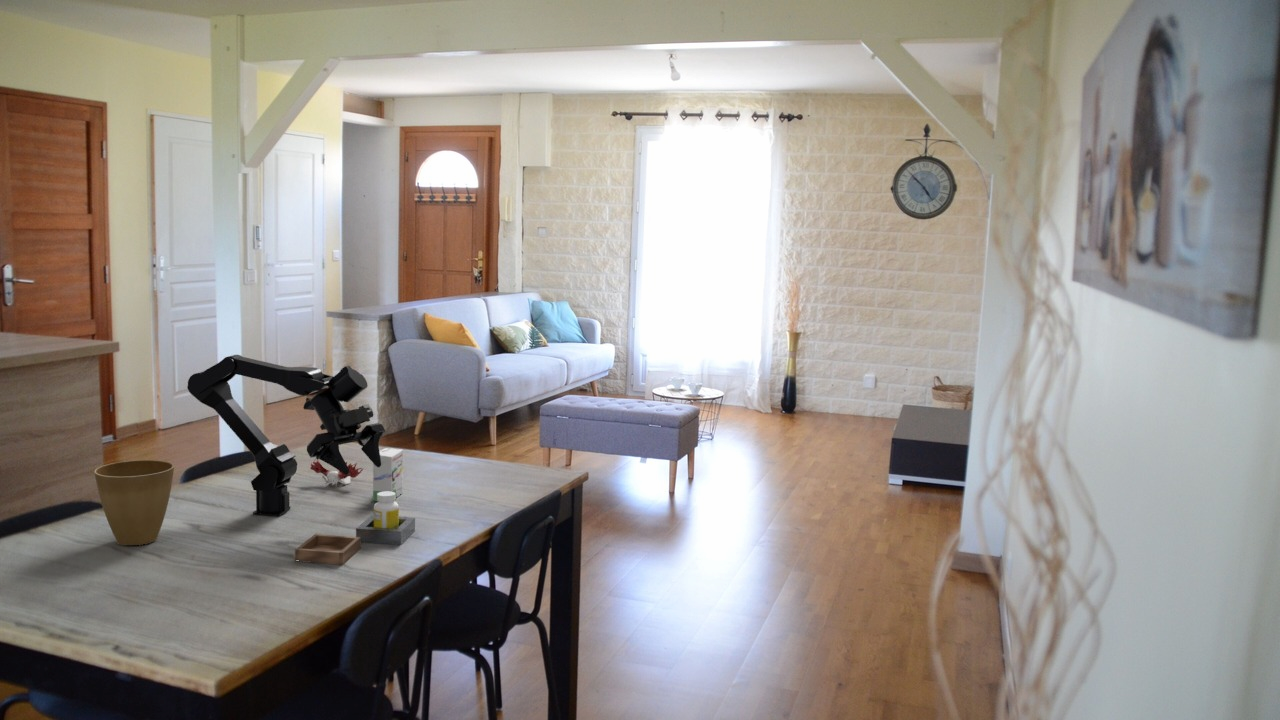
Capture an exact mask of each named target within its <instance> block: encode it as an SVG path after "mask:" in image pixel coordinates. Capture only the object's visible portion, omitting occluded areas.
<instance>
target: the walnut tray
mask: <svg viewBox="0 0 1280 720" xmlns="http://www.w3.org/2000/svg"><path fill="white" fill-rule="evenodd" d="M361 544H362V542H361V537H356V536H349V535H348V536H347V535H346V536H345V535H334V534H332V535H331V534H318V533H317V534H316V533H315V534H313V535H312V536H311V537H309V538H308V539H307V540H306V541H304V542H303V543H302V544H300V545H299V546H298V547H297V548H295V549H294V553H295V554H294V556H295V557H294V558H295V560H299V561H310V562H309V563H312V562H318V563H317V564H326V563H327V564H328V565H341V566H343V565H345V563H347V562H348V561H349V560H350V559H351V558H352V557H353V556H354V555H355V554H356V553H357V552H359V551H360V550H361V547H362V546H361ZM319 562H320V563H319Z"/></svg>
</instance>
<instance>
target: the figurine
mask: <svg viewBox="0 0 1280 720" xmlns="http://www.w3.org/2000/svg"><path fill="white" fill-rule="evenodd" d="M319 460H320V459H318V460H317V459H316V458H315V459H314V460H313V462H311V463H310V470H312V471H314V472H315V473H316V474H322V476H321V478H322V479H323V480H324V482H325V483H324V486H325V487H326V486H327V485H328V484H331V486H334V485H335V487H337V486H338V483H340V484H342V485H349V483H350V484H351V478H352V479H355V478H356V477H358V476H359V475H360V474H361V473H362V471H363V470H364V469H365V468H364V467H363V468H362V467H359V468H356V467H357V465H358V462H355V463H354V464H352V463H348V462H347V461H345V463H346V465H347V466H348V469H349V471H350V473H349V474H348V475H345V474H344V473H342V472H341V471H339V470H329V469H327V468H325V467H324V466H323V465H322V464H321V462H320V461H319ZM359 470H360V471H359Z"/></svg>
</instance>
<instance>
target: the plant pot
mask: <svg viewBox="0 0 1280 720" xmlns="http://www.w3.org/2000/svg"><path fill="white" fill-rule="evenodd" d="M174 471H175V464H173V462H170V461H166V460H165V461H164V460H157V459H154V460H153V459H139V460H138V459H137V460H126V461H118V462H112V463H107V464H105V465H101V466H98V467H96V468H95V470H94V472H93V473H94V477H95V483H96V487H97V491H98V496H99V499H100V503H101V506H102V509H103V512H104V515H105V518H106V520H107V523H108V525H109V527H110V530H111V532H112V534H113V536H114V538H115V540H116V543H117V542H118V543H119V544H118V543H117V544H118V545H120V544H121V545H120V546H123V545H139V546H144V545H143V544H145V545H149V544H151V542H152V543H154V542H155V541H156V540H157V539H158V537H159V535H160V534H159V533H160V531H161V528H162V525H163V523H164V519H165V517H166V514H167V513H166V512H167V509H168V505H169V500H170V497H171V491H172V484H173V479H174V478H173V477H174ZM153 541H154V542H153ZM148 543H149V544H148ZM141 544H142V545H141Z"/></svg>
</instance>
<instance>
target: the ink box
mask: <svg viewBox="0 0 1280 720" xmlns="http://www.w3.org/2000/svg"><path fill="white" fill-rule="evenodd" d="M379 453H380V459H381V466H380V467H379V468H378V467H377V466H376V465H375V464H374V463H373V462H372V463H373V464H372V473H373V474H372V475H373V477H372V500H373V501H375V502H378V501H377V493H379V492H384V491H391V492H395V494H396V497H397V498H398V497H400V496H401V495H402V494H403V489H404V487H403V485H404V484H403V480H404V479H403V478H404V477H403V475H404V474H403V473H404V471H403V469H404V465H403V464H404V449H401V448H400V449H399V448H392V447H384V448H383V449H380V450H379ZM400 494H401V495H400Z"/></svg>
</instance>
